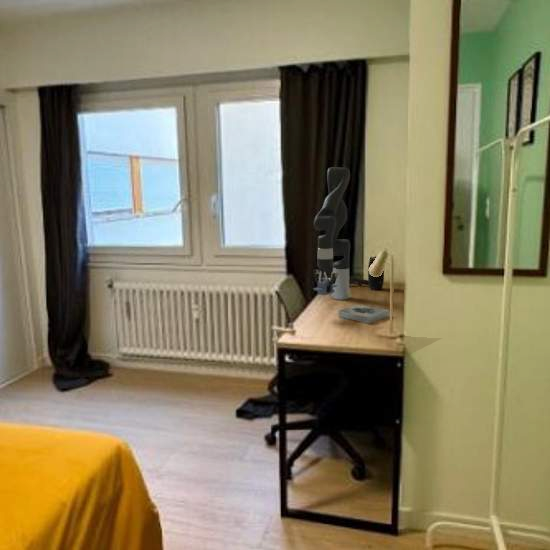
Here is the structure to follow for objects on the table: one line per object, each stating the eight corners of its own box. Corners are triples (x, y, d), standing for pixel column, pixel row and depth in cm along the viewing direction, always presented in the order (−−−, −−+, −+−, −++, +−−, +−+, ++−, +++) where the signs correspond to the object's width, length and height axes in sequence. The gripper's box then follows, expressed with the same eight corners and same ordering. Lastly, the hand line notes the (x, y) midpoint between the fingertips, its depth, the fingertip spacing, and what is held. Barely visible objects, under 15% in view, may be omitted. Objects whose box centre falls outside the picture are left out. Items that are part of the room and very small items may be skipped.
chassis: (338, 316, 244) (338, 310, 244) (358, 310, 256) (358, 304, 256) (369, 323, 232) (369, 317, 231) (389, 316, 244) (389, 310, 243)
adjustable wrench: (375, 294, 311) (335, 285, 315) (375, 293, 314) (336, 284, 317) (378, 281, 309) (338, 272, 313) (378, 280, 312) (338, 272, 315)
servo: (313, 295, 242) (313, 281, 240) (330, 290, 251) (330, 276, 249) (319, 296, 239) (319, 282, 238) (336, 291, 248) (336, 277, 247)
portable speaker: (385, 290, 300) (386, 258, 296) (370, 290, 299) (370, 258, 296) (381, 287, 308) (381, 255, 305) (366, 287, 308) (366, 256, 304)
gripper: (341, 257, 239) (341, 292, 242) (318, 254, 249) (318, 288, 252) (331, 259, 234) (331, 295, 237) (308, 256, 244) (309, 291, 247)
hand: (325, 291), depth 245 cm, fingers closed on servo, 4 cm apart
